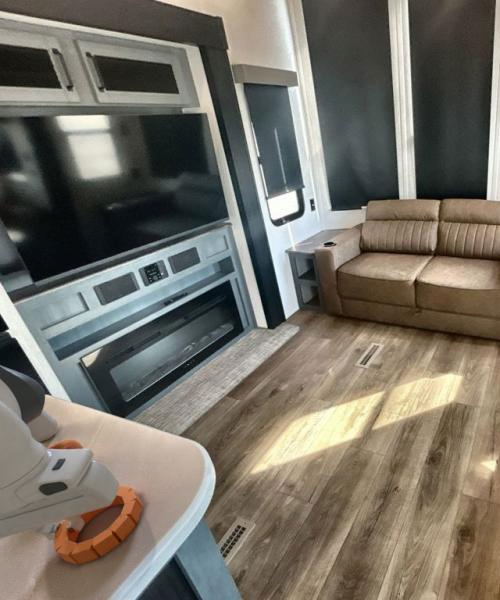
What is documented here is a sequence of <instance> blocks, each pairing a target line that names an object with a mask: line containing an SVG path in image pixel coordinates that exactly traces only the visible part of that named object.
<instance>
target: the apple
mask: <svg viewBox="0 0 500 600" xmlns="http://www.w3.org/2000/svg"><path fill="white" fill-rule="evenodd" d="M46 449H85V448H84V446H83V445H82V444H81V443H80V442H79V441H77V440H75V439H63V440H60V441H57V442H55V443H54V444H52V445H50V446H48V447H46Z"/></svg>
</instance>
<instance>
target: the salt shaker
mask: <svg viewBox="0 0 500 600" xmlns="http://www.w3.org/2000/svg"><path fill="white" fill-rule="evenodd" d="M26 425H27V426H28V427H29V429H30V432H31V436H32V438H33V439H34V440H35V441H37V442H39V443H41V442H44V441H48V440H49V439H51V438H52V437H53V436H55V435H56V434H57V433H58V428H59V426H58V421H57V419H56V418H55V417H53V416H52V415H51V414H50V413H48V412H47V411H46V410H44V409H43V411H42V413H41V415H40V416H39V417H37V418H36V419H34V420H32V421H31V422H29V423H28V424H26Z"/></svg>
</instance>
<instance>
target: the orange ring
mask: <svg viewBox="0 0 500 600" xmlns="http://www.w3.org/2000/svg"><path fill="white" fill-rule="evenodd" d="M119 505H122V506H123V507H122V510H121V513H120V514H119V516H118V517H117V518H116V519H115V521H113V522H112V523H111V524H110V525H109V527H108V528H106V529H105V530H104V531H102V532H101V533H99V534H98V535H96V536H94V537H93V538H90V539H87V540H84V541H81V542H76V541H77V538H78V537H79V535H80V533H81V531H78V532H74V533H70V532H69V531H67V530H66V527H67V525H68V524H69V522H70V521H67V520H66V519H64V520H62V521H61V526H60V527H59V529H58V531H57V533H56V535H55V536H54V537H55V539H53V546H54V552H56V553H57V555H58V556H59V557H61V558H62V559H63V561H65V562H67V563H71V564H74V565H78V564H79V565H81V564H84V563H85V564H86V563H88V562H91V561H94V560H97V559H99V557H103V556H104V555H106V553H109V552H110V551H111V550H113V549H115V547H117V546H118V545H120V544H121V543H120V542H123V541H124V540H125V539H126V538H127V537H128V535H129V534H130V533H131V532H132V531H133V530H134V529H135V527H136V526H137V525H136V524H138V523H139V520H140V517H141V515H142V512H143V503H142V501H141V498H140V496H138V494H137V493H136V491H135V490H134V489H133V488H131V487H128V486H124V485H119V490H118V493H117V495H116V497H115V499H114V501H113V502H112V504H111V505H110V506H107V507H104V508H100V509H97V510H94V511H90V512H87V513H84V514H81V518H82V519H83V520H84V526H83V528H84V527H85V526H86V525H87V524H88V523H89V522H90V521H91V520H92V519H93V518H94V517H95V516H97V515H99V514H100V513H101V512H103V511H105V510H106V509H108V508H112V507H114V506H119Z"/></svg>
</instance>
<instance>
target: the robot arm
mask: <svg viewBox="0 0 500 600" xmlns="http://www.w3.org/2000/svg"><path fill="white" fill-rule="evenodd" d="M45 402H46V391H45V389H44V387H43V386H42V385H41V384H40V383H39V382H38V381H37V380H35V379H34V378H32V377H30V376H29V375H27V374H24V373H22V372H20V371H17V370H14V369H12V368H8V367H6V366H4V365H1V364H0V539H3V538H7V537H10V536H13V535H18V534H21V533H24V532H27V531H28V532H30V533H31V534H34V535H39V536H45V538H46V539H48V540H49V541H53V540H54V539H55V537H54V536H55V535H56V533H57V531H58V529H59V527H60V526H61V524H62V521H66V520H67V521H70V522H69V524H68V525H67V527H66V530H67V531H69V532H70V533H74V532H78V531H80V532H81V531H82V530H83V528H84V527H85V526H84V520H83V519H82V518H81V514H84V513H87V512H90V511H94V510H97V509H100V508H104V507H107V506H110V505H111V504H112V502H113V501H114V499H115V497H116V495H117V493H118V490H119V487H120V482H119V480H118V479H117V478H116V477H115V475H114V473H113V472H112V471H111V470H110V469H109V468H108V467H107V466H106V465H105V464H104V463H102V462H100V461H97V460H93V459H94V456H95V454H94V452H93V451H92V450H91V449H90V448H84V449H47V447H45V446H44V444H43V443H41V442H37V441H35V440H34V439H33V438H32V436H31V432H30V429H29V427H28V426H27V425H26V424H28V423H29V422H31V421H32V420H34V419H36V418H37V417H39V416H40V415H41V413H42V411H43V410H44V408H45V404H46V403H45ZM65 519H66V520H65ZM60 521H61V522H60ZM83 526H84V527H83Z"/></svg>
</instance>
